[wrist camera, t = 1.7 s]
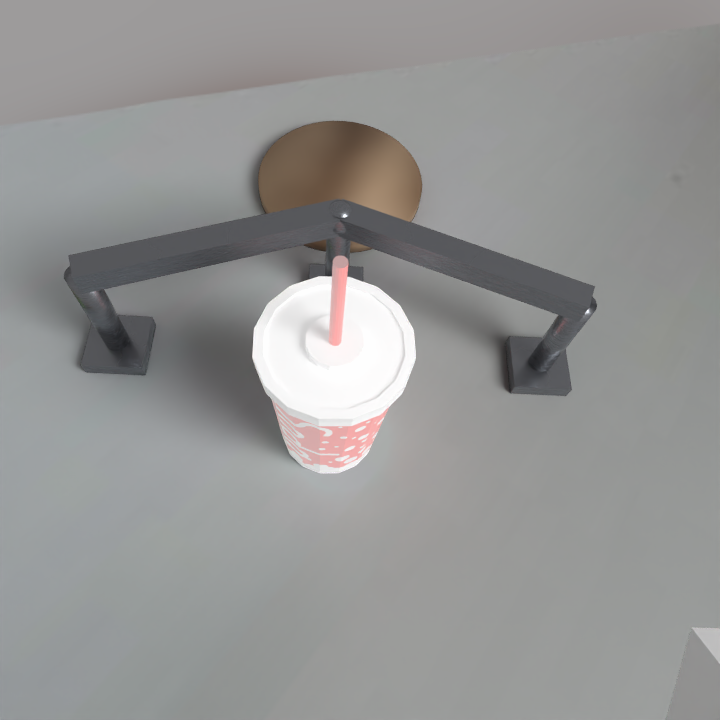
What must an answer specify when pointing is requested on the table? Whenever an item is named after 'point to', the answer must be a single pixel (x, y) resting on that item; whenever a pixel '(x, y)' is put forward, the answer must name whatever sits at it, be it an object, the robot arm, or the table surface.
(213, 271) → the table surface
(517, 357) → the bent rail
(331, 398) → the beverage cup
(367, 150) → the walnut pad
